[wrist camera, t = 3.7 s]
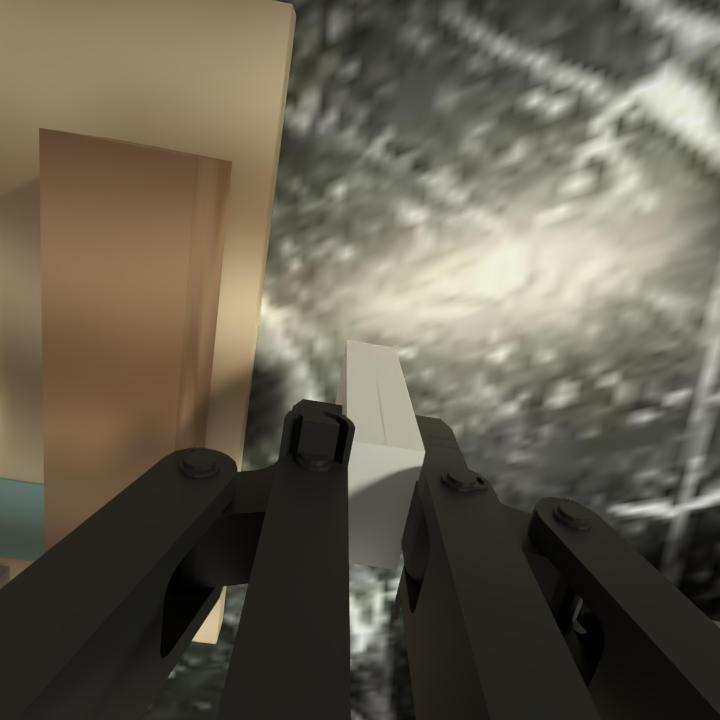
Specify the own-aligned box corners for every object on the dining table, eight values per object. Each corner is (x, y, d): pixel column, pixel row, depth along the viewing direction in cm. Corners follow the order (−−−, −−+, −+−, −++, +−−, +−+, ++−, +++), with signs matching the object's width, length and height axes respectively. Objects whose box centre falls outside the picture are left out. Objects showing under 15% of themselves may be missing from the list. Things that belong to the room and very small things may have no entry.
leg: (200, 495, 20) (165, 569, 16) (102, 481, 20) (45, 553, 16) (232, 161, 16) (196, 157, 13) (112, 138, 16) (38, 127, 12)
